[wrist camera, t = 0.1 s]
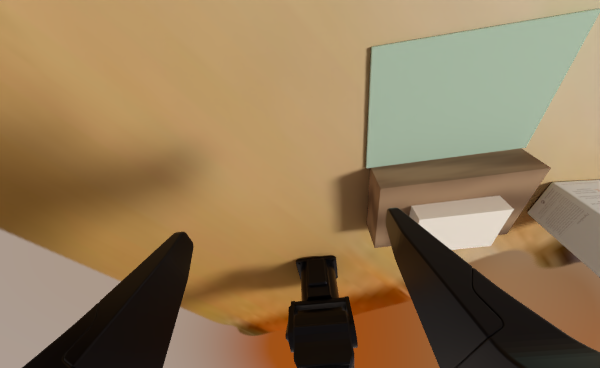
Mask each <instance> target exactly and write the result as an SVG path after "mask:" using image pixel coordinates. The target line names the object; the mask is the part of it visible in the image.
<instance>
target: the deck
mask: <svg viewBox="0 0 600 368" xmlns="http://www.w3.org/2000/svg"><path fill="white" fill-rule="evenodd" d="M550 169H551V168H550V167H549V166H547V165H546V164H544V163H543V162H541V161H540V160H538V159H537V158H535V157H533V156H532V155H530V154H529V153H527V152H526V151H524V150H523V149H521V148H519V149H511V150H504V151H496V152H488V153H481V154H473V155H465V156H457V157H450V158H442V159H434V160H427V161H419V162H411V163H404V164H396V165H388V166H381V167H373V168H370V178H369V195H368V212H367V226H368V229H369V232H370V235H371V238H372V241H373V244H374V247H375V248H378V247H387V246H391V243H390V239H389V236H388V232H387V228H386V224H385V220H386V213H387V209H388V208H399V209H400V210H402V211H403V212H404V213H405V214H407V215H408V216H409V215H410V210H411V206H414V205H423V204H432V203H440V202H449V201H457V200H466V199H474V198H483V197H492V196H501V197H502V198H503V199H504V200H505V201H506V202H507V203H508V204H509V205H510V206H511V207H512V208H513V209H514V210H513V212H512V213H511V215H510V216H509V218H508V219H507V221H506V223H505V224H504V226H503V227H502V229H501V230H500V232H499V234H498V235H502V234H507V233H508V231H509V230H510V228H511V227H512V225H513V224H514V222H515V221H516V219H517V218H518V216H519V215H520V213H521V212H522V210H523V209H524V207H525V206H526V204H527V203H528V201H529V200H530V198H531V197H532V195H533V194H534V192H535V191H536V189H537V188H538V186H539V185H540V184H541V182H542V181H543V179H544V178H545V176H546V175H547V173H548V172H549V170H550Z"/></svg>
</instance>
